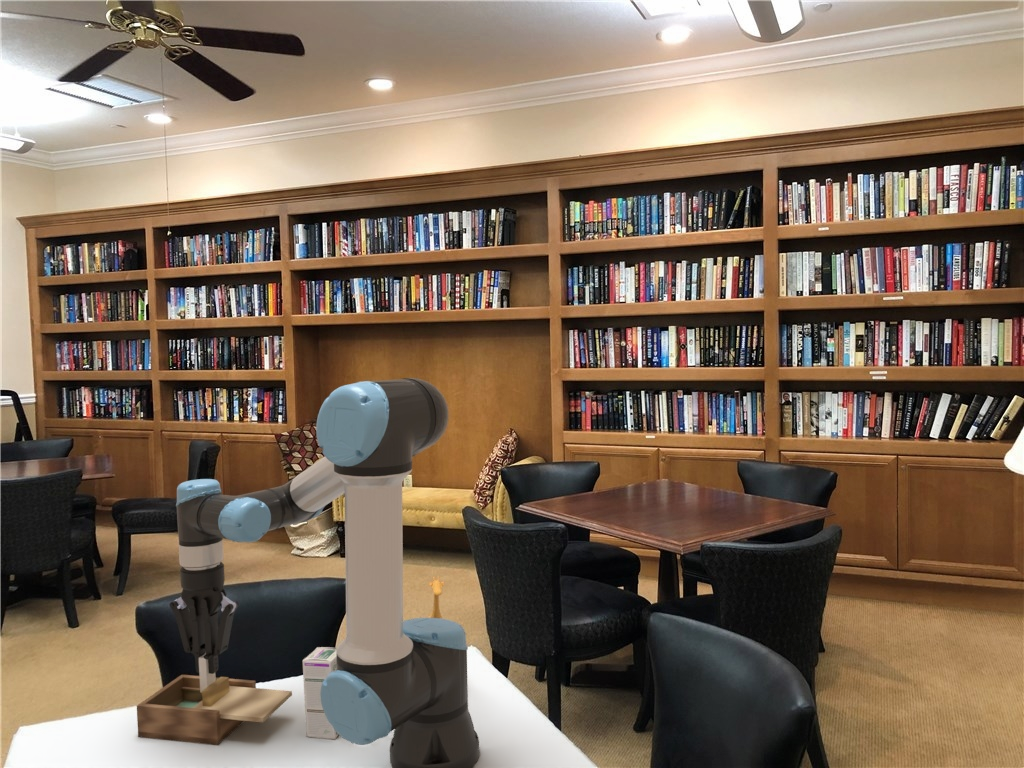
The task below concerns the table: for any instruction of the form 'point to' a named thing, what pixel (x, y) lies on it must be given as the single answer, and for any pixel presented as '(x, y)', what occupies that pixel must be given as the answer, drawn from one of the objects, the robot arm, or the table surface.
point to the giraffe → (436, 597)
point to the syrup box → (318, 691)
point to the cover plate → (241, 701)
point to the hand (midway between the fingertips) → (208, 689)
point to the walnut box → (184, 713)
